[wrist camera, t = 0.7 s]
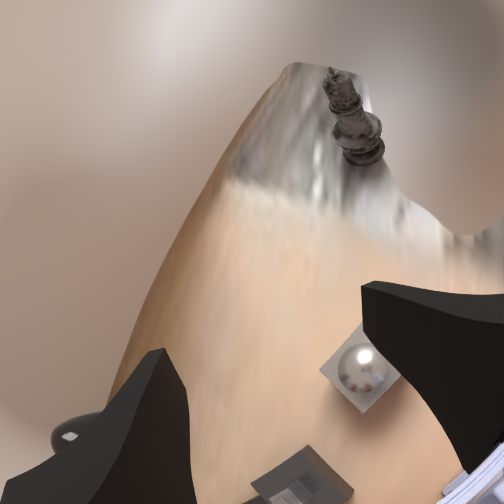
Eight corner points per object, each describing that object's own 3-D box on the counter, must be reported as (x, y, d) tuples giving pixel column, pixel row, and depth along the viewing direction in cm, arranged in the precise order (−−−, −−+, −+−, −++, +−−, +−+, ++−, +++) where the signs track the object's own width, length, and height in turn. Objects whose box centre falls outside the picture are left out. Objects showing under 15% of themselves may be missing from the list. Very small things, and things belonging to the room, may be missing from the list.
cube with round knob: (410, 360, 19) (412, 362, 14) (371, 403, 19) (360, 416, 15) (371, 325, 22) (361, 318, 18) (333, 367, 22) (314, 370, 18)
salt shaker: (397, 145, 26) (373, 58, 17) (365, 176, 27) (330, 92, 18) (361, 125, 30) (328, 47, 20) (331, 153, 31) (287, 77, 22)
